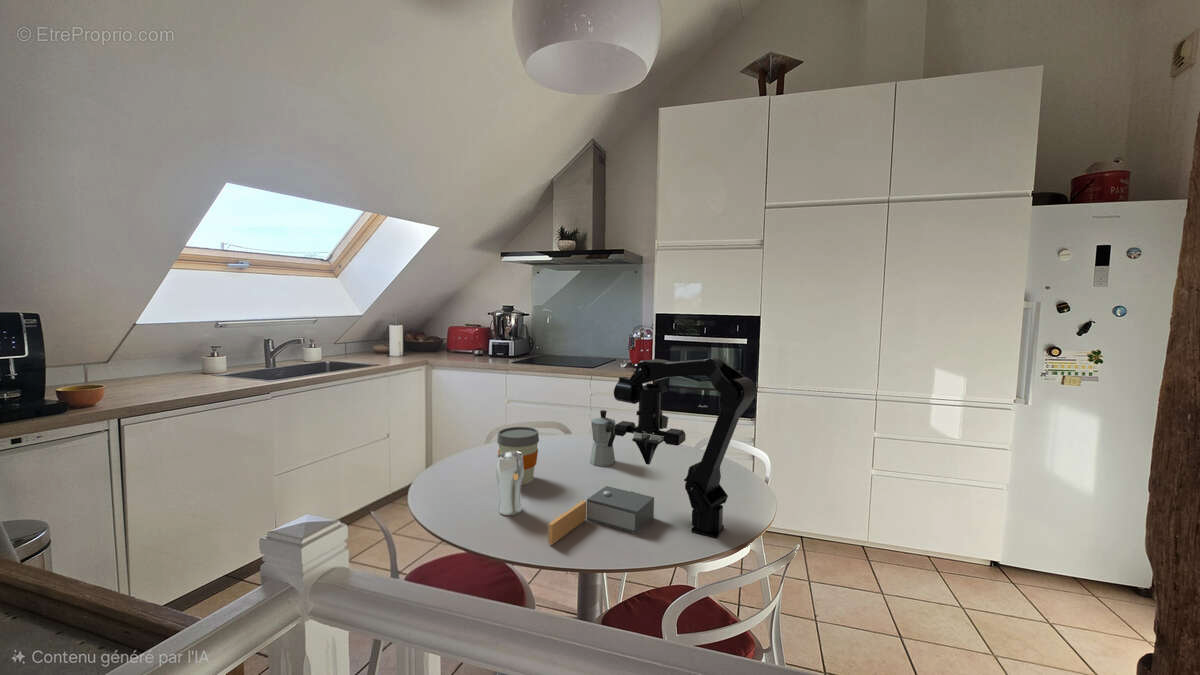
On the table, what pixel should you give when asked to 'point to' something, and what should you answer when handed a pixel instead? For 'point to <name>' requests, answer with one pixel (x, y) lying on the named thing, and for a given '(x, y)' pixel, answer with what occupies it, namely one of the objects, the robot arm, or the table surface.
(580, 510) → the side door
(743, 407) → the robot arm
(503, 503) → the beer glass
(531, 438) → the reusable coffee cup
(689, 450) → the table surface
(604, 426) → the coffee maker
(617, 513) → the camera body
